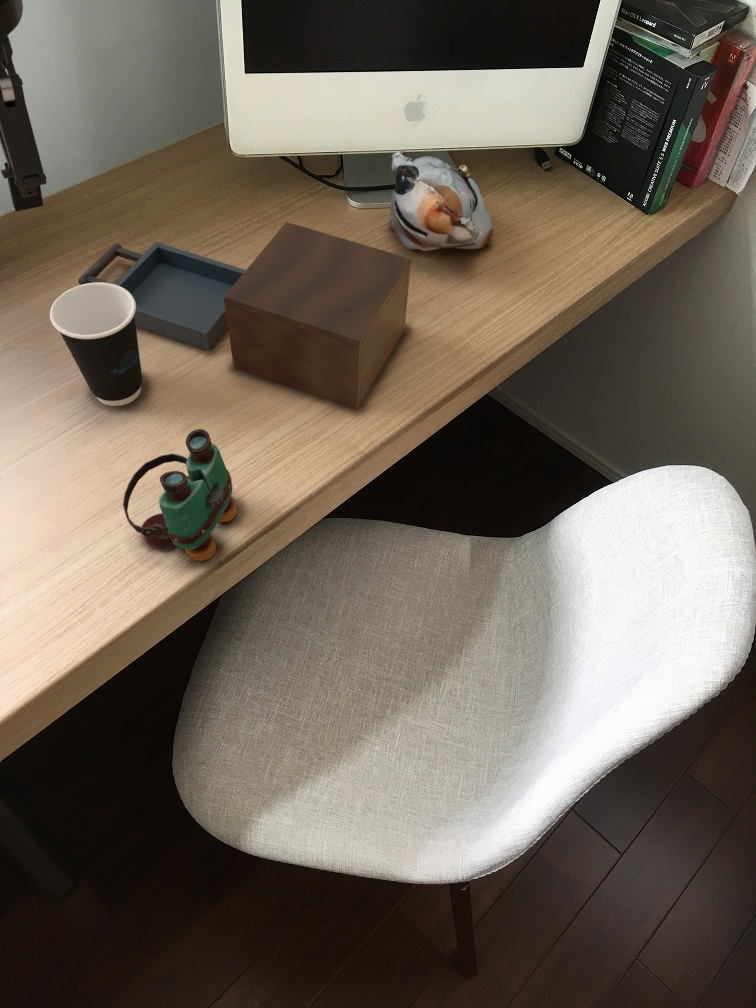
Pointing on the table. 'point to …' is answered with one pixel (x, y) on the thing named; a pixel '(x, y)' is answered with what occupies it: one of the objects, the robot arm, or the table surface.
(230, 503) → the binoculars
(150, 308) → the drawer
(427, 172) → the lucky cat figurine
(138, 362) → the dixie cup
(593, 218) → the table surface
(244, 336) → the drawer unit
